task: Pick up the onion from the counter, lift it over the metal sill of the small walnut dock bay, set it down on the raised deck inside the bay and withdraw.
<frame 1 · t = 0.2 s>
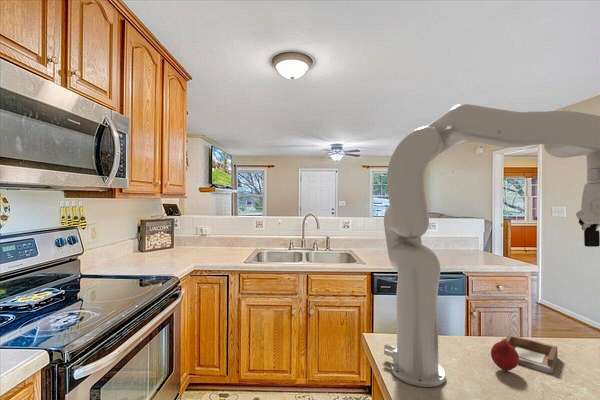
bay: (528, 357, 82), on the countertop
onion: (504, 371, 75), on the countertop
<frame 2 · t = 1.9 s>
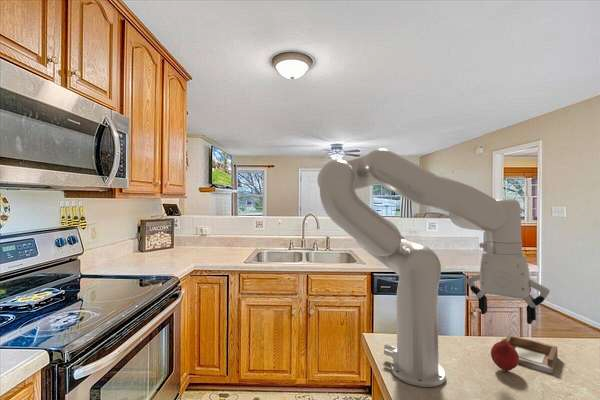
hand: (506, 317, 76), 13 cm above the countertop, tool pointing down, fingers open, 9 cm apart
nothing on the countertop moved.
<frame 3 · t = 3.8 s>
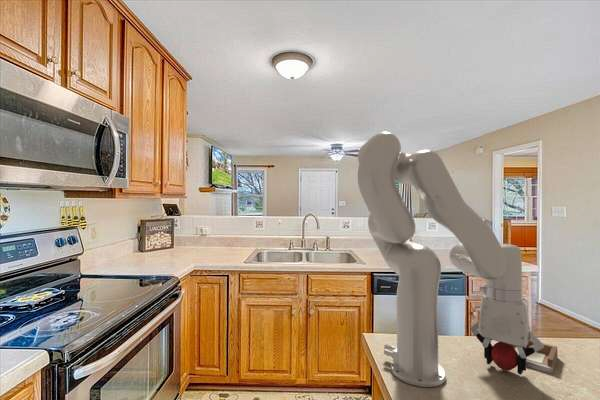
hand: (504, 366, 75), 1 cm above the countertop, tool pointing down, fingers closed on onion, 5 cm apart
onion: (504, 371, 75), on the countertop, touching gripper
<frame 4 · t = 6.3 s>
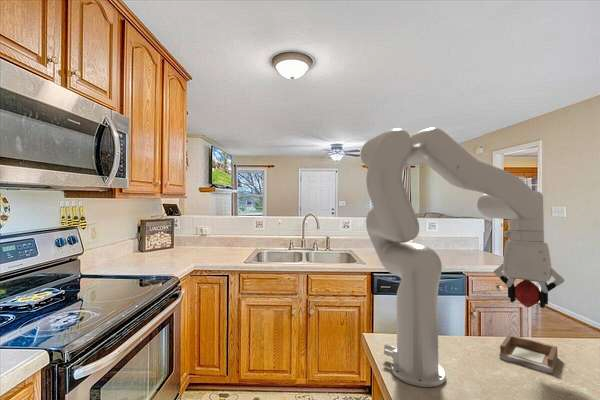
hand: (527, 303, 82), 15 cm above the countertop, tool pointing down, fingers closed on onion, 5 cm apart
onion: (527, 308, 82), point 13 cm above the countertop, touching gripper
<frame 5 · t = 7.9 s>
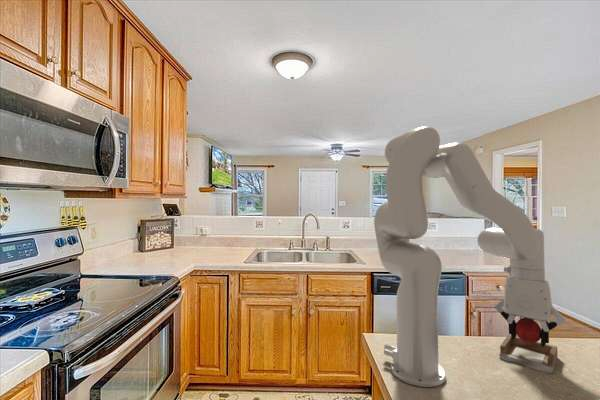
hand: (528, 340, 82), 5 cm above the countertop, tool pointing down, fingers closed on onion, 5 cm apart
onion: (528, 345, 82), point 3 cm above the countertop, touching gripper
when the fingers open (4 cm above the countertop, at t = 9.0 s): onion drops 2 cm, resting on bay.
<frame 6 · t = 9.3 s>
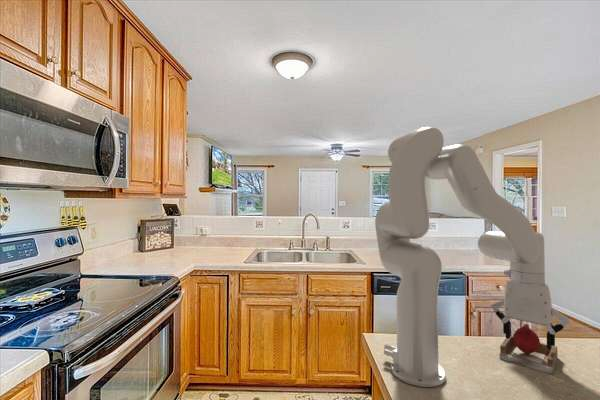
hand: (528, 341, 82), 4 cm above the countertop, tool pointing down, fingers open, 8 cm apart
onion: (526, 354, 82), point 1 cm above the countertop, touching bay
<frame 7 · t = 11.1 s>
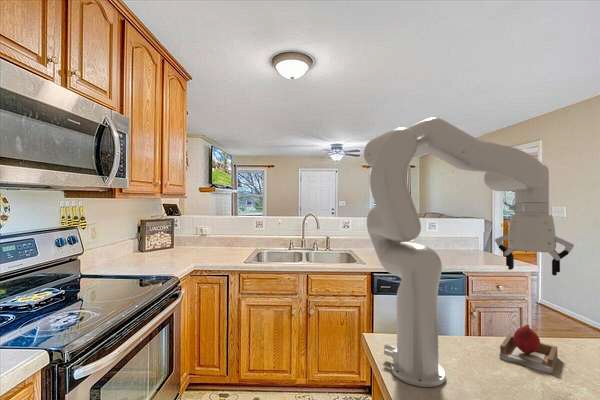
hand: (531, 271, 84), 23 cm above the countertop, tool pointing down, fingers open, 9 cm apart
nothing on the countertop moved.
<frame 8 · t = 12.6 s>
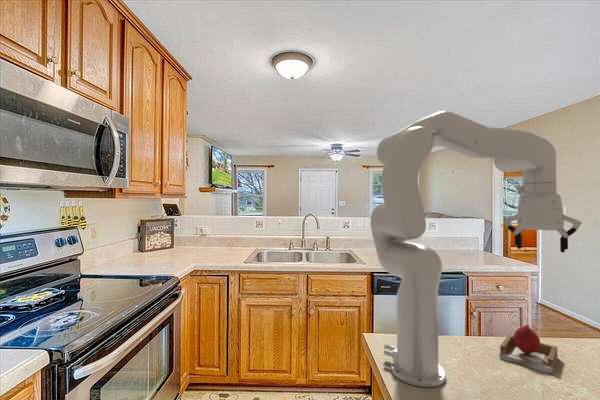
hand: (540, 250, 86), 28 cm above the countertop, tool pointing down, fingers open, 9 cm apart
nothing on the countertop moved.
at the end: onion inside the target area on the bay (0.4 cm from its centre), point 0.7 cm above the bay's base; the gripper is holding nothing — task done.
